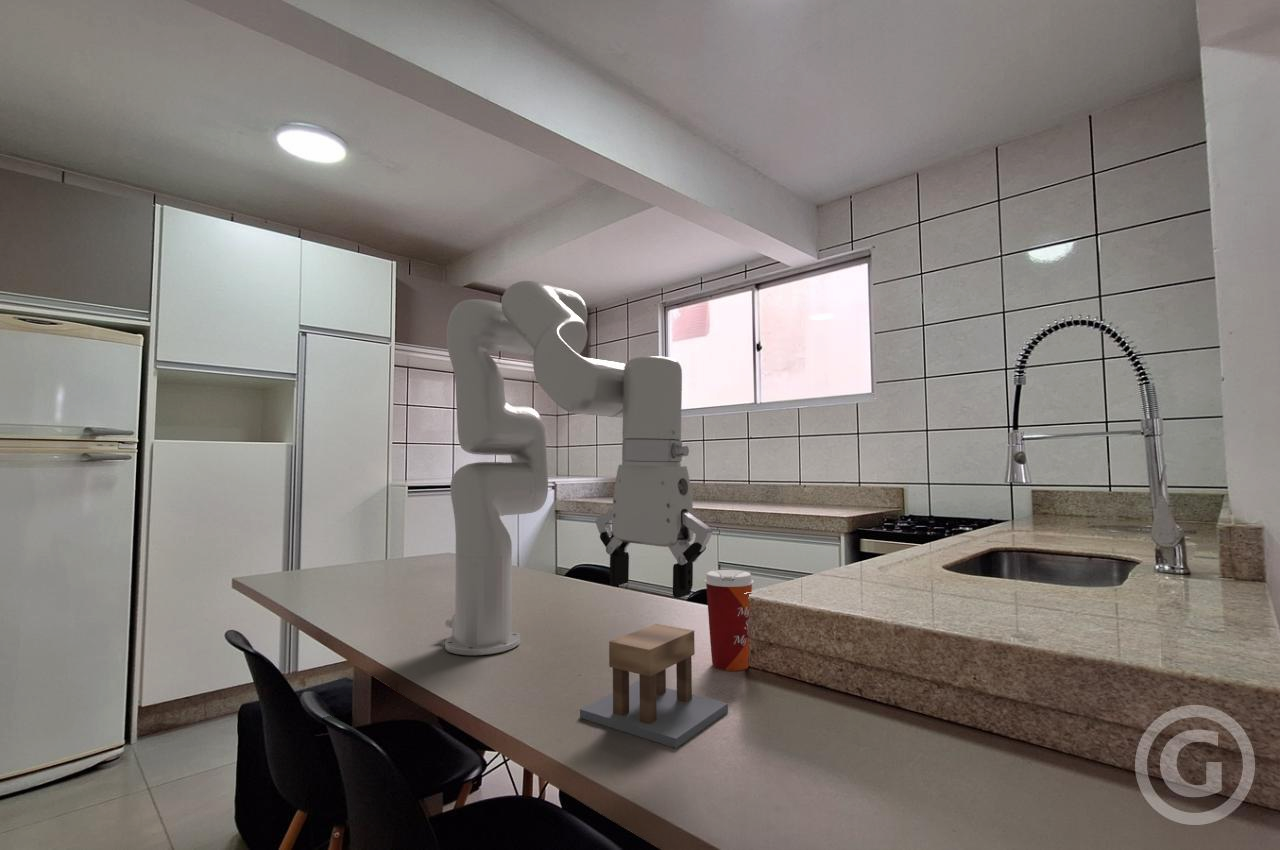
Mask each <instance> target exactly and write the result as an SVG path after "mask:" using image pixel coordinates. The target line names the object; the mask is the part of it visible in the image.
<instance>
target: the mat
mask: <svg viewBox="0 0 1280 850" xmlns="http://www.w3.org/2000/svg"><path fill="white" fill-rule="evenodd" d="M727 713H729V703H728V702H724V701H720V700H716V699H711V698H709V697H708V698H707V697H704V696H700V695H696V694H693V693H692V699H691V700H689V701H687V702H683V701H680V700H677V689H672V688H668V687H666V692H665V693H663V694H662V695H657V694H656V714H657V720H656V721H655V722H653V723H651V724H646V723H643V722H640V680H636V681H634V682H632V683H629V713H627V714H625V715H624V716H620V715H616V714H613V692H612V693H610V694H608V695H606V696H604V697H602V698H600V699H598V700H596V701H593V702H592V703H589V704H588V705H586V706H584V707H581V708H579V718H580V719H582V720H585V721H590V722H593V723H596V724H599V725H602V726H606V727H609V728H611V729H614V730H617V731H621V732H623V733H627V734H630V735H634V736H637V737H639V738H643V739H646V740H649V741H653V742H655V743H660V744H661V745H662V744H663V745H666V746H668V747H671V748H674V749H677V748H679V747H680V746H681V745H683V744H685V743H686V742H688V741H689V740H690V739H691V738H693V737H694V736H696V735H697V734H698V733H700V732H701V731H704V729H705V728H707V727H708V726H710V725H712V724H713V723H714V722H715V721H717V720H718V719H720V718H721V717H722V716H724V715H726V714H727Z"/></svg>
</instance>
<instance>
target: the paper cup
mask: <svg viewBox="0 0 1280 850" xmlns="http://www.w3.org/2000/svg"><path fill="white" fill-rule="evenodd" d="M703 583H705V587H706V599H707V601H706V602H707V614H708V625H709V627H708V628H709V639H710V641H709V643H710V652H711V653H710V655H711V664H712V667H713V668H714V669H716V670H720V671H723V672H740V671H745V670H747V669H749V666H748V656H749V657H750V652H749V638H748V635H747V632H748V620H749V619H748V618H749V611H750V605H749V602H748V597H749V594H753V593H747V594H744V593H746V592H753V591H752V590H753V585H754V584H755V581H754V580H753V577H752V575H751V573H750V572H748V571H744V570H738V569H737V570H736V569H719V570H718V569H717V570H711V571H708V572H707V573H706V577H705V578H704V582H703Z"/></svg>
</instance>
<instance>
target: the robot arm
mask: <svg viewBox="0 0 1280 850" xmlns="http://www.w3.org/2000/svg"><path fill="white" fill-rule="evenodd" d="M586 305H587V304H586V303H585V301H584V300H583V298H582V297H581V296H580V295H579V294H578V293H576V292H574V291H573V290H571V289H566V288H562V287H559V286H554V285H550V284H546V283H543V282H539V281H534V280H520V281H517V282H515V283H513V284H511V285H509V287H508V288H506V289H505V290H504V293H503V295H502V297H501V302H498V301H493V300H488V299H487V300H486V299H477V298H474V299H465V300H462V301H460V302H459V303H457V304H456V305H454V307H453V309H452V310H451V312H450V315H449V318H448V322H447V326H446V346H447V351H448V355H449V359H450V360H449V361H450V362H451V366H452V370H453V375H454V381H455V382H454V383H455V403H456V406H455V407H456V424H457V425H456V426H457V429H456V430H457V438H458V442H459V446H460V448H461V449H462V450H463V451H464V452H466V453H468V454H472V455H478V456H510V458H511V462H502V461H496V462H495V461H481V462H472V463H467V464H465V465H463V466H460V468H458V469H457V470H456V471H455V472H454V473H453V475H452V478H451V482H450V498H451V504H452V509H453V515H454V526H455V527H454V528H455V529H454V531H455V573H454V574H455V575H454V576H455V579H454V580H455V581H454V582H455V583H454V584H455V585H454V615H453V616H452V617H451V619H450V618H449V619H447V620H446V621H445V623H444V624H445V627H446V628H449V629H451V636H449V637H447V639H446V640H445V641H444V648H445V649H444V650H446V651H447V652H448V653H451V654H455V655H459V656H460V655H461V656H484V655H485V656H486V655H493V654H499V653H504V652H506V651H507V652H508V651H509V650H512V649H515V648H516V647H518V645H520V643H521V635H520V633H518V632H516V631H513V630H512V583H513V582H512V578H513V577H512V574H513V573H512V570H513V569H512V567H513V565H512V564H513V563H512V561H513V560H512V559H513V557H512V553H513V552H512V551H513V548H512V547H513V546H512V539H511V535H510V533H509V531H508V529H507V527H506V526H505V524H504V523H503V522H502V520H501V517H504V516H511V515H512V516H514V515H523V514H524V515H527V514H534V513H536V512H538V511H540V510H541V508H543V507H544V505H545V503H546V501H547V499H548V493H549V473H548V459H547V457H548V455H547V439H546V429H545V424H544V421H543V420H542V417H541V415H540V414H539V412H538V411H536V409H534V408H532V407H531V406H527V405H524V404H523V405H522V404H510V403H508V402H507V401H506V395H505V380H504V376H503V373H502V372H501V370H500V368H499V366H498V364H497V363H496V361H495V360H494V359H493V358H492V356H491V355H490V353H488V352H489V350H490V351H491V350H492V351H498V352H503V353H509V354H510V353H511V354H517V355H522V356H523V355H524V356H532V366H533V372H534V377H535V380H536V382H537V384H538V385H539V386H540V388H541V389H542V390H543V391H544V393H545V394H547V395H548V397H549V398H550V399H551V401H553V402H554V403H555V404H556V405H557V406H559V407H560V408H561V409H563V410H565V411H566V412H569V413H571V414H574V415H582V416H586V415H587V416H598V417H609V418H622V442H621V444H622V445H621V446H622V447H621V448H622V449H621V452H622V453H621V454H622V455H621V456H622V457H621V460H622V461H621V464H619V465H618V466H617V467H618V468H617V471H616V477H615V481H614V488H613V496H612V505H611V506H612V508H611V509H610V510H609V511H607V512H605V513H603V514H601V515H599V516H598V517H596V518H595V525H596V527H597V530H598V533H599V538H600V541H601V542H602V544H603V545H604V546H605V552H606V554H607V555H609V585H610V586H612V587H617V586H620V585H624V584H627V583H628V582H629V579H630V578H629V575H630V569H629V568H630V565H629V564H630V555H629V554H630V553H629V552H628V551H626V550H627V549H628V547H629V546H630V545H631V543H632V544H638V545H646V546H654V547H661V548H662V547H663V548H666V547H667V548H668V549H669V551H670V552H671V553H672V555H673V556H674V558H675V560H676V562H677V563H674V564H673V565H672V596H673V597H674V598H675V599H680V598H683V597H687V596H689V595H690V594H691V593H692V589H693V585H694V583H693V581H694V579H693V578H694V576H693V575H694V573H693V571H694V570H693V569H694V562H697V560H698V558H699V557H700V556H701V555H702V554H703V553H704V551H706V549H707V545H708V543H709V541H710V539H711V537H712V535H713V529H712V528H711V527H710V526H708V525H707V524H706V523H704V522H703V521H702V520H700V519H699V518H697V517H695V516H694V507H693V496H692V494H693V493H692V486H691V480H690V475H689V471H688V467H687V466H686V465H682V461H683V460H682V459H683V457H688V456H689V452H690V450H689V449H690V448H689V446H687V445H683V440H682V404H683V403H682V397H683V395H682V390H683V387H682V386H683V385H682V384H683V372H682V366H681V364H680V363H679V361H678V360H676V359H674V358H671V357H667V356H657V355H656V356H653V355H652V356H646V355H645V356H637V357H633V358H631V359H629V360H628V361H627V362H626V363H624V362H616V361H610V360H605V359H600V358H599V359H597V358H592V357H585V356H582V355H580V354H581V353H582V352H583V350H584V349H585V347H586V344H587V342H588V341H587V340H588V330H587V329H588V328H587V323H588V315H589V314H588V309H587V306H586ZM694 534H695V538H694ZM693 538H694V539H693ZM693 540H694V541H693ZM691 541H693V543H692V544H690V542H691Z"/></svg>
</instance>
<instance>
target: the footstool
mask: <svg viewBox="0 0 1280 850" xmlns="http://www.w3.org/2000/svg"><path fill="white" fill-rule="evenodd" d="M608 643H609V644H608V646H609V647H608V657H609V658H608V659H609V660H608V661H609V663H608V666H609V668H611V669H612V693H613V714H616V715H620V716H624V715H625V714H627V713H629V685H630V673H633V674H637V675H638V676H639V681H640V722H643V723H646V724H651V723H653V722H655V721H656V720H657V714H656V694H657V695H662V694H663V693H665V692H666V688H667V686H666V685H667V684H666V683H667V676H666V673H667V669H668V668H670V667H673V666H674V665H676V690H677V700H680V701H683V702H687V701H689V700H691V699H692V694H693V681H692V680H693V679H692V678H693V677H692V676H693V675H692V656H694V655H695V647H696V646H695V630H693V629H687V628H681V627H675V626H671V625H666V624H659V623H655V624H652V625H649V626H646V627H643V628H642V629H639V630H635V631H633V632H631V633H628V634H625V635H623V636H620V637H618V638H614V639H612V640H610V641H609V642H608Z"/></svg>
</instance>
